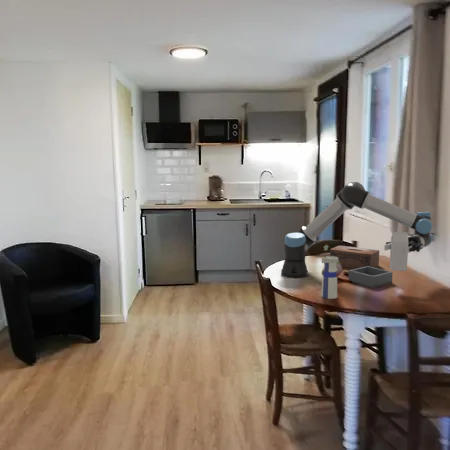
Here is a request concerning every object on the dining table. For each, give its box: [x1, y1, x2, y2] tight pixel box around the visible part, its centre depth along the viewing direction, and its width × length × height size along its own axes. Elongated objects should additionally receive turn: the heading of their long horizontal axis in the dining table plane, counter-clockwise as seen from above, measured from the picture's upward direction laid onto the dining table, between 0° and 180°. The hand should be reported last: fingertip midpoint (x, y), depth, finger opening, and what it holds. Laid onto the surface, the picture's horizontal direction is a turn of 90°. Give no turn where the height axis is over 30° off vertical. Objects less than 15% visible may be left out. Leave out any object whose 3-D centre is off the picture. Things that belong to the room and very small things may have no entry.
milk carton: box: [389, 231, 409, 272], centre depth 228 cm, size 7×7×19 cm
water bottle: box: [320, 244, 339, 300], centre depth 220 cm, size 8×9×25 cm
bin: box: [347, 266, 394, 289], centre depth 246 cm, size 16×16×6 cm
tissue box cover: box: [329, 245, 380, 269], centre depth 284 cm, size 26×14×10 cm, turn 53°
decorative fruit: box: [336, 262, 343, 278], centre depth 254 cm, size 9×8×10 cm
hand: (395, 249), depth 225 cm, fingers closed on milk carton, 10 cm apart
